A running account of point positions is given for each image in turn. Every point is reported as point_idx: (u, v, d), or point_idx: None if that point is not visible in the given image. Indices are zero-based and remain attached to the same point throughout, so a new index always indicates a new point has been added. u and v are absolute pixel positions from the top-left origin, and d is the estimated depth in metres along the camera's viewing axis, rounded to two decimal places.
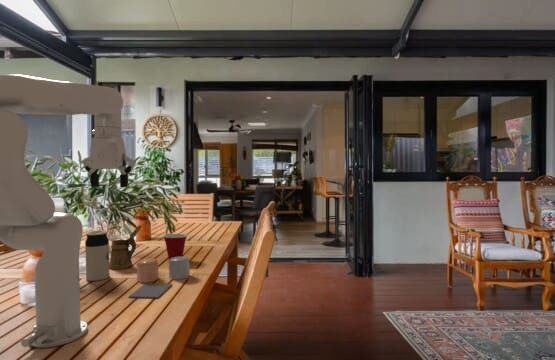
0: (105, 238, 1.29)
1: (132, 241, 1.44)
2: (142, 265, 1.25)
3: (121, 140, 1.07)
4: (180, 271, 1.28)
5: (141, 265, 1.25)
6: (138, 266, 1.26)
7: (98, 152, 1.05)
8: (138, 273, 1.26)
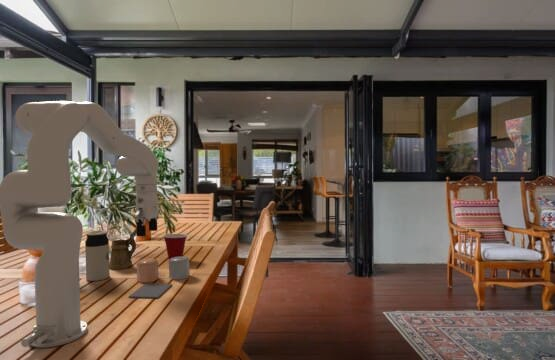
0: (105, 238, 1.29)
1: (132, 241, 1.44)
2: (142, 265, 1.25)
3: None
4: (180, 271, 1.28)
5: (141, 265, 1.25)
6: (138, 266, 1.26)
7: (151, 205, 1.26)
8: (138, 273, 1.26)
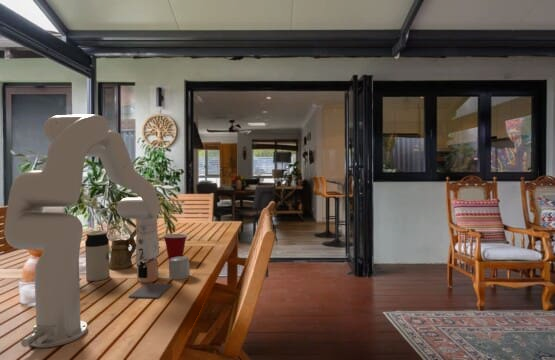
0: (105, 238, 1.29)
1: (132, 241, 1.44)
2: None
3: None
4: (180, 271, 1.28)
5: None
6: None
7: (152, 245, 1.26)
8: None
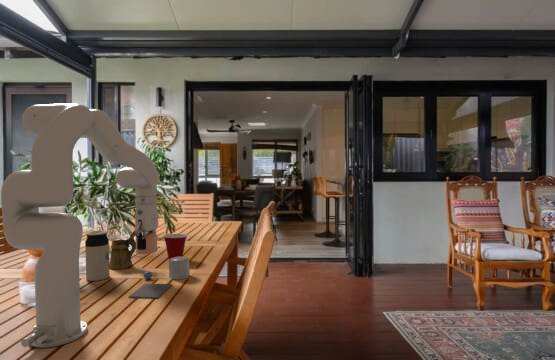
0: (105, 238, 1.29)
1: (132, 241, 1.44)
2: None
3: None
4: (180, 271, 1.28)
5: None
6: None
7: (151, 217, 1.26)
8: None
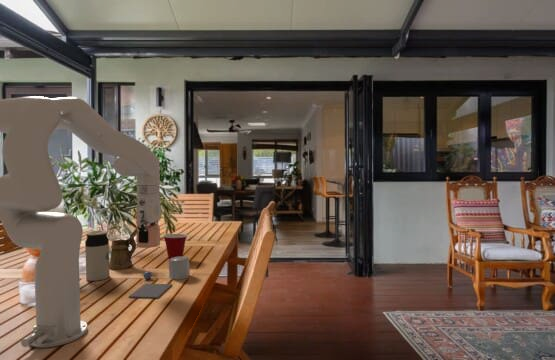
0: (105, 238, 1.29)
1: (132, 241, 1.44)
2: None
3: None
4: (180, 271, 1.28)
5: None
6: None
7: (154, 208, 1.17)
8: (138, 238, 1.17)
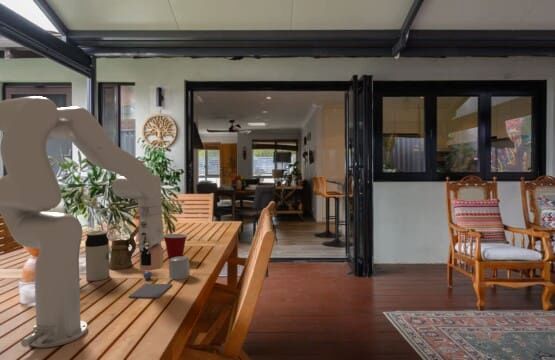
0: (105, 238, 1.29)
1: (132, 241, 1.44)
2: None
3: None
4: (180, 271, 1.28)
5: None
6: None
7: (156, 229, 1.14)
8: None
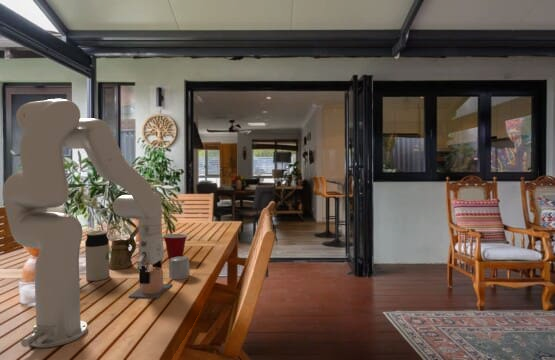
0: (105, 238, 1.29)
1: (132, 241, 1.44)
2: None
3: None
4: (180, 271, 1.28)
5: None
6: None
7: (156, 248, 1.14)
8: None
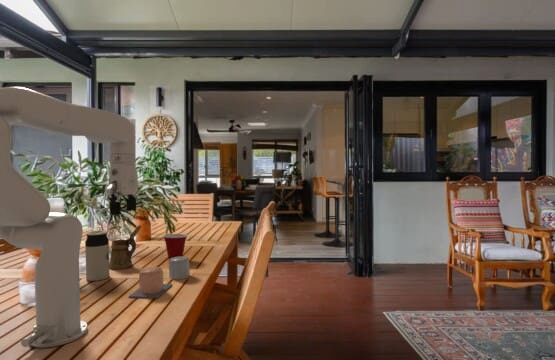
0: (105, 238, 1.29)
1: (132, 241, 1.44)
2: (145, 275, 1.12)
3: None
4: (180, 271, 1.28)
5: (144, 275, 1.12)
6: (141, 276, 1.13)
7: (128, 179, 1.07)
8: (141, 283, 1.14)
